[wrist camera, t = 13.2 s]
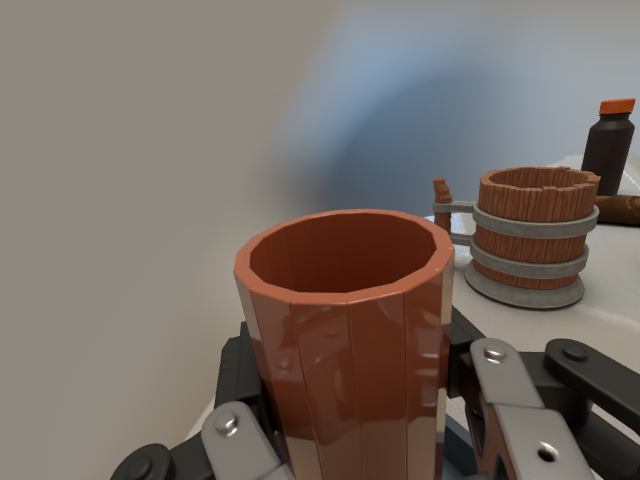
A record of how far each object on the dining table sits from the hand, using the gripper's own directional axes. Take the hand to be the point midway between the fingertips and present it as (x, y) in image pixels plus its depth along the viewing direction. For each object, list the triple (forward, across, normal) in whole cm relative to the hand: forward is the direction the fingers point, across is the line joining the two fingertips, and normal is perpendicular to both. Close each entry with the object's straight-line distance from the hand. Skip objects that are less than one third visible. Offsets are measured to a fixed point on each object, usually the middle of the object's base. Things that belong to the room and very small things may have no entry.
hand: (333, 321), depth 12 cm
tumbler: (-2, 0, +6) cm, 7 cm away
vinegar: (+43, -68, +18) cm, 83 cm away
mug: (+24, -29, +18) cm, 41 cm away
